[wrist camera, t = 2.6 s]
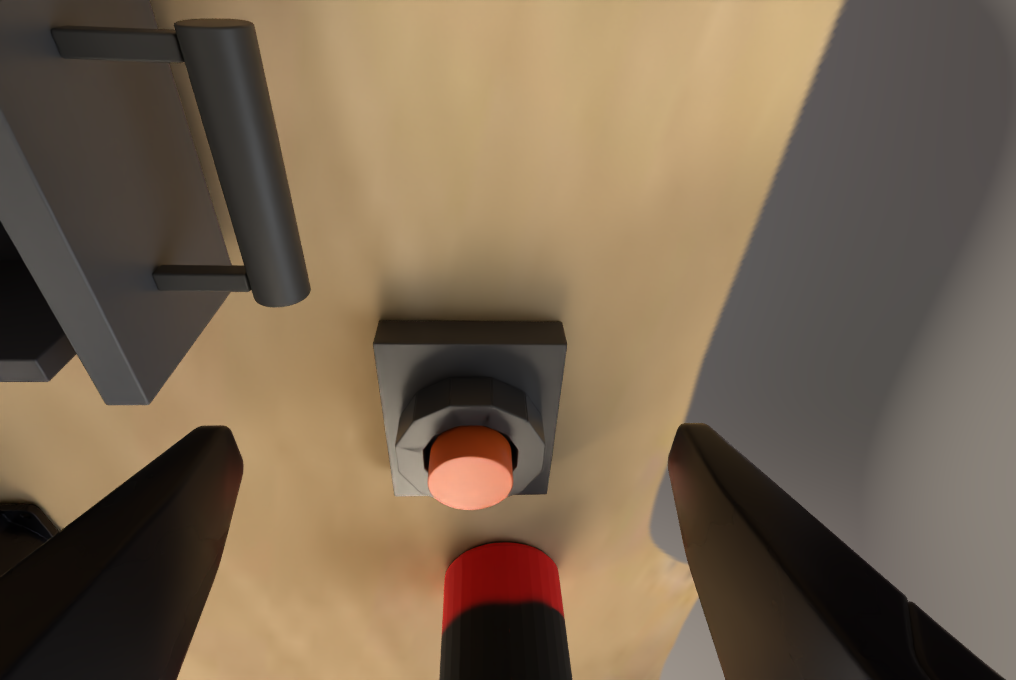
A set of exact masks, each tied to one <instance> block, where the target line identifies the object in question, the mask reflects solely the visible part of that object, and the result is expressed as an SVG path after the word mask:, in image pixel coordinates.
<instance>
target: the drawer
mask: <svg viewBox="0 0 1016 680" xmlns="http://www.w3.org/2000/svg"><path fill="white" fill-rule="evenodd" d="M174 27H175V30H169V29H158V26H157V23H156V19H155V16H154V13H153V10H152V7H151V3H150V0H0V382H48V381H50V380H51V379H52V378H53V377H54V376H55V375H56V374H57V373H58V372H59V371H60V370H61V369H62V368H63V367H64V366H65V365H66V364H67V363H68V362H69V361H70V360H71V359H72V358H73V357H74V356H75V355H76V354H77V355H78V357H79V359H80V360H81V362H82V364H83V366H84V367H85V369H86V371H87V373H88V374H89V376H90V378H91V379H92V381H93V383H94V385H95V386H96V388H97V390H98V392H99V393H100V395H101V397H102V399H103V400H104V402H105V404H106V405H149V404H150V403H151V402H152V400H153V399H154V398H155V396H156V395H157V393H158V392H159V391H160V389H161V388H162V387H163V385H164V384H165V382H166V381H167V380H168V378H169V377H170V375H171V374H172V373H173V371H174V370H175V369H176V367H177V366H178V364H179V363H180V362H181V360H182V359H183V357H184V356H185V355H186V353H187V352H188V350H189V349H190V348H191V346H192V345H193V344H194V342H195V341H196V339H197V338H198V337H199V335H200V334H201V332H202V331H203V330H204V328H205V327H206V326H207V324H208V323H209V321H210V320H211V319H212V317H213V316H214V314H215V313H216V312H217V310H218V309H219V308H220V306H221V305H222V303H223V302H224V301H225V299H226V298H227V296H228V295H229V294H230V292H249V291H251V290H252V293H253V296H254V299H255V301H256V302H257V303H259V304H260V305H263V306H266V307H285V306H290V305H293V304H296V303H298V302H300V301H302V300H304V299H305V298H306V297H307V296H308V295H309V293H310V290H311V288H310V283H309V278H308V274H307V269H306V264H305V260H304V255H303V250H302V246H301V241H300V236H299V232H298V227H297V222H296V218H295V213H294V208H293V204H292V199H291V194H290V190H289V185H288V180H287V176H286V171H285V166H284V162H283V157H282V152H281V148H280V143H279V138H278V134H277V129H276V124H275V120H274V115H273V111H272V106H271V101H270V97H269V92H268V87H267V83H266V78H265V73H264V69H263V64H262V59H261V55H260V50H259V45H258V41H257V36H256V31H255V27H254V24H253V23H252V22H249V21H245V20H238V19H190V20H182V21H178V22H176V23H174ZM183 62H185V65H186V68H187V72H188V75H189V78H190V82H191V85H192V89H193V92H194V95H195V99H196V102H197V106H198V109H199V112H200V116H201V119H202V123H203V126H204V130H205V133H206V136H207V140H208V143H209V147H210V150H211V153H212V157H213V160H214V164H215V167H216V170H217V174H218V177H219V181H220V184H221V187H222V191H223V194H224V198H225V201H226V204H227V208H228V211H229V215H230V218H231V221H232V225H233V228H234V232H235V235H236V239H237V242H238V245H239V249H240V252H241V256H242V259H243V262H244V266H232V265H231V261H230V258H229V255H228V252H227V249H226V245H225V242H224V239H223V236H222V232H221V229H220V226H219V223H218V219H217V216H216V213H215V210H214V207H213V203H212V200H211V197H210V194H209V190H208V187H207V184H206V181H205V178H204V174H203V171H202V168H201V165H200V161H199V158H198V155H197V152H196V148H195V145H194V142H193V139H192V136H191V132H190V129H189V126H188V123H187V119H186V116H185V113H184V110H183V107H182V103H181V100H180V97H179V94H178V90H177V87H176V84H175V81H174V78H173V74H172V71H171V68H170V65H169V63H183Z"/></svg>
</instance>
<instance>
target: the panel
mask: <svg viewBox="0 0 1016 680" xmlns="http://www.w3.org/2000/svg"><path fill="white" fill-rule="evenodd" d="M373 348H374V355H375V362H376V369H377V376H378V383H379V390H380V397H381V404H382V411H383V418H384V425H385V432H386V439H387V446H388V453H389V460H390V467H391V474H392V481H393V488H394V495H395V496H430V497H433V496H432V494H431V493H430V491H429V488H428V471H429V460H430V450H431V446H432V444H433V442H434V441H435V439H436V438H437V437H438V436H439V435H441V434H442V433H443V432H445V431H447V430H449V429H451V428H454V427H458V426H485V427H488V428H491V429H493V430H496V431H497V432H499V433H500V434H502V435H503V436H504V437H505V438H506V439H507V441H508V442H509V444H510V447H511V454H512V470H513V487H512V489H511V491H510V493H509V495H508V496H507V497H509V496H512V495H534V494H547V490H548V483H549V475H550V468H551V461H552V453H553V446H554V439H555V431H556V424H557V417H558V409H559V402H560V395H561V387H562V380H563V373H564V365H565V358H566V351H567V341H566V337H565V333H564V328H563V324H562V322H512V321H379V323H378V327H377V331H376V335H375V338H374V342H373ZM433 498H434V497H433Z"/></svg>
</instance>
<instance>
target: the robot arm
mask: <svg viewBox="0 0 1016 680" xmlns="http://www.w3.org/2000/svg"><path fill="white" fill-rule="evenodd" d="M668 470H669V476H670V480H671V485H672V490H673V495H674V500H675V505H676V510H677V514H678V519H679V524H680V530H681V535H682V539H683V544H684V548H685V553H686V557H687V561H688V564H689V567H690V571H691V574H692V577H693V580H694V583H695V586H696V589H697V593H698V596H699V599H700V602H701V605H702V608H703V611H704V614H705V617H706V621H707V623H708V627H709V630H710V633H711V636H712V639H713V642H714V645H715V648H716V651H717V655H718V658H719V661H720V664H721V667H722V670H723V673H724V677H725V680H1006V679H1004V678H1003V677H1002V676H1000V675H999V674H998V673H997V672H995V671H994V670H993V669H992V668H990V667H989V666H988V665H987V664H985V663H984V662H983V661H982V660H980V659H979V658H978V657H977V656H976V655H974V654H973V653H972V652H971V651H970V650H969V649H967V648H966V647H965V646H964V645H963V644H961V643H960V642H959V641H958V640H957V639H955V638H954V637H953V636H952V635H951V634H950V633H948V632H947V631H946V630H945V629H944V628H942V627H941V626H940V625H939V624H938V623H937V622H935V621H934V620H933V619H932V618H931V617H930V616H928V615H927V614H926V613H925V612H924V611H923V610H921V609H920V608H919V607H918V606H917V605H916V604H915V603H913V602H908V600H907V597H906V596H905V595H904V594H903V593H902V592H900V591H899V590H898V589H897V588H896V587H895V586H893V585H892V584H891V583H890V582H889V581H888V580H886V579H885V578H884V577H883V576H882V575H881V574H880V573H878V572H877V571H876V570H875V569H874V568H873V567H872V566H870V565H869V564H868V563H867V562H866V561H865V560H863V559H862V558H861V557H860V556H859V555H858V554H857V553H855V552H854V551H853V550H852V549H851V548H850V547H848V546H847V545H846V544H845V543H844V542H843V541H841V540H840V539H839V538H838V537H837V536H836V535H835V534H833V533H832V532H831V531H830V530H829V529H828V528H826V527H825V526H824V525H823V524H822V523H821V522H820V521H818V520H817V519H816V518H815V517H814V516H813V515H811V514H810V513H809V512H808V511H807V510H806V509H804V508H803V507H802V506H801V505H800V504H799V503H798V502H796V501H795V500H794V499H793V498H791V496H790V495H788V494H787V493H786V492H785V491H784V490H783V489H781V488H780V487H779V486H778V485H777V484H776V483H775V482H773V481H772V480H771V479H770V478H769V477H768V476H766V475H765V474H764V473H763V472H761V470H760V469H758V468H757V467H756V466H755V465H754V464H753V463H751V462H750V461H749V460H748V459H747V458H746V457H744V456H743V455H742V454H741V453H740V452H739V451H738V450H736V449H735V448H734V447H733V446H732V445H730V444H729V443H728V442H727V441H726V440H725V439H724V438H723V437H721V436H720V435H719V434H718V433H717V432H716V431H714V430H713V429H712V428H711V427H710V426H708V425H706V424H703V423H684V424H681V425H680V426H679V427H678V429H677V432H676V435H675V438H674V441H673V444H672V447H671V450H670V453H669V457H668ZM242 476H243V459H242V457H241V454H240V451H239V449H238V446H237V444H236V441H235V439H234V436H233V434H232V432H231V430H230V429H229V428H228V427H227V426H200V427H198V428H196V429H194V430H193V431H191V432H190V433H189V434H187V435H186V436H185V437H184V438H182V439H181V440H180V441H178V442H177V443H176V444H174V445H173V446H172V447H170V448H169V449H168V450H166V451H165V452H164V453H162V454H161V455H160V456H158V457H157V458H156V459H155V460H153V461H152V462H151V463H149V464H148V465H147V466H145V467H144V468H143V469H141V470H140V471H139V472H137V473H136V474H135V475H133V476H132V477H131V478H129V479H128V480H127V481H126V482H124V483H123V484H122V485H120V486H119V487H118V488H116V489H115V490H114V491H112V492H111V493H110V494H108V495H107V496H106V497H104V498H103V499H102V500H101V501H99V502H98V503H97V504H95V505H94V506H93V507H91V508H90V509H89V510H87V511H86V512H85V513H83V514H82V515H81V516H79V517H78V518H77V519H75V520H74V521H73V522H72V523H70V524H69V525H68V526H66V527H65V528H64V529H62V530H61V531H60V532H58V531H57V529H56V528H55V527H54V526H53V524H52V523H51V522H50V521H49V519H48V518H47V517H46V516H45V515H44V513H43V512H42V511H41V510H40V509H39V508H38V507H36V506H33V505H29V504H8V505H0V680H177V677H178V674H179V672H180V669H181V666H182V664H183V661H184V658H185V656H186V653H187V651H188V648H189V645H190V643H191V640H192V637H193V635H194V632H195V629H196V627H197V624H198V621H199V619H200V616H201V613H202V611H203V608H204V606H205V603H206V600H207V598H208V595H209V592H210V590H211V587H212V584H213V582H214V579H215V576H216V573H217V570H218V567H219V564H220V561H221V557H222V554H223V550H224V546H225V542H226V538H227V534H228V530H229V527H230V523H231V519H232V515H233V511H234V507H235V503H236V499H237V495H238V491H239V487H240V483H241V480H242Z"/></svg>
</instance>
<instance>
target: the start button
mask: <svg viewBox="0 0 1016 680" xmlns="http://www.w3.org/2000/svg"><path fill="white" fill-rule="evenodd" d="M512 487H513V470H512V454H511V447H510V444H509V442H508V441H507V439H506V438H505V437H504V436H503V435H502V434H500V433H499V432H497V431H496V430H493V429H491V428H488V427H485V426H458V427H454V428H451V429H449V430H447V431H445V432H443V433H442V434H441V435H439V436H438V437H437V438H436V439H435V441H434V442H433V444H432V446H431V450H430V460H429V471H428V488H429V491H430V493H431V494H432V496H433V497H434V498H435V499H436V500H438V501H439V502H440V503H442V504H444V505H446V506H449V507H452V508H456V509H461V510H478V509H484V508H488V507H491V506H493V505H496V504H497V503H499V502H501V501H502V500H504V499H505V498H506V497H507V496H508V495H509V493H510V491H511V489H512Z"/></svg>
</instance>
